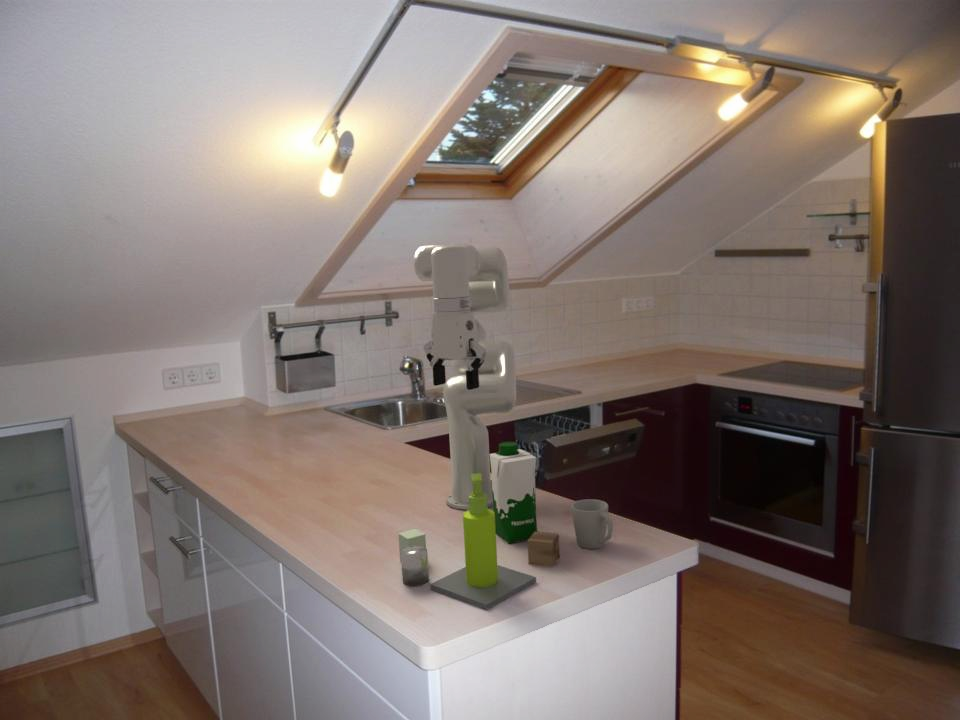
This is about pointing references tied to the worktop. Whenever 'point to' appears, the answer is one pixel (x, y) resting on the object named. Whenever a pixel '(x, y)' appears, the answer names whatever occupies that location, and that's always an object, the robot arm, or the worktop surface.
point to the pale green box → (411, 539)
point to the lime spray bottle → (480, 538)
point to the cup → (591, 523)
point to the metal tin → (414, 566)
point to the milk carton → (513, 492)
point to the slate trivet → (483, 596)
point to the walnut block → (543, 548)
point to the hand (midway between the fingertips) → (456, 386)
